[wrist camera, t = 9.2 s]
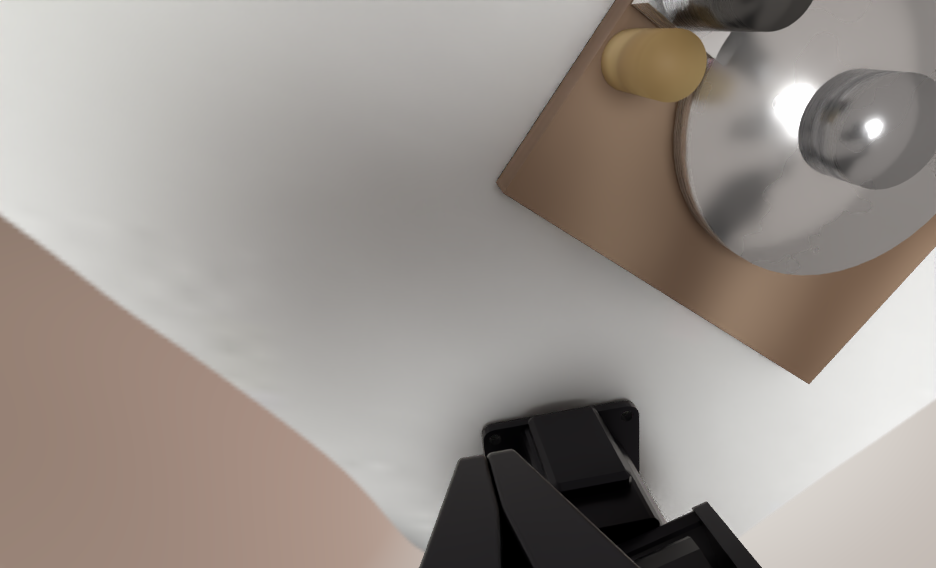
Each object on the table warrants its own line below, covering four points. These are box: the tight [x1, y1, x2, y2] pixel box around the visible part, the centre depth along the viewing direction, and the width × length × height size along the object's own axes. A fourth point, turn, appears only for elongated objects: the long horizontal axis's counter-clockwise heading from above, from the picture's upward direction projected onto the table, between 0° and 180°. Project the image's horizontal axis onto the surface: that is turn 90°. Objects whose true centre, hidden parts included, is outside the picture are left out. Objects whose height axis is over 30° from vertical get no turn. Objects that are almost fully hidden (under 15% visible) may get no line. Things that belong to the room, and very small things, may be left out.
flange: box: [632, 0, 936, 275], centre depth 17 cm, size 12×10×5 cm
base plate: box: [496, 0, 936, 384], centre depth 19 cm, size 15×15×4 cm
